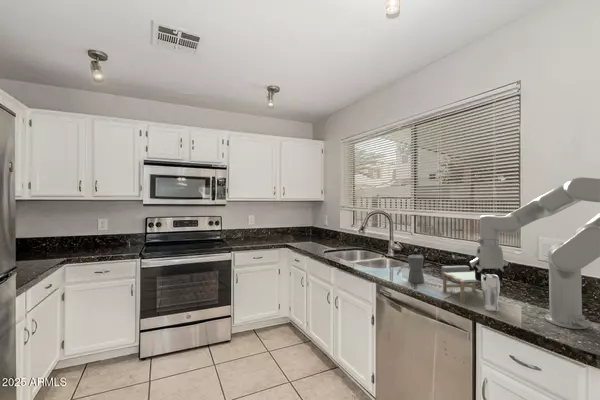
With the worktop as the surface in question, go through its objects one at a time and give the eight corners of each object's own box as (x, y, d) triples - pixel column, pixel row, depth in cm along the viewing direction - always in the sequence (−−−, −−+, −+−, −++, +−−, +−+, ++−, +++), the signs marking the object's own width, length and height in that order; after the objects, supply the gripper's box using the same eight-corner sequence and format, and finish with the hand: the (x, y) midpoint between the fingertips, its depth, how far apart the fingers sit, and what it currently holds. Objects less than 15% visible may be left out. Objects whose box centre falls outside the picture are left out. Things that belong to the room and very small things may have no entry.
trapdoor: (491, 285, 140) (491, 274, 140) (463, 286, 140) (463, 275, 140) (466, 274, 160) (466, 265, 160) (441, 275, 159) (441, 266, 159)
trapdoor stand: (497, 301, 139) (496, 279, 139) (461, 302, 138) (461, 281, 138) (474, 290, 156) (474, 270, 156) (443, 291, 155) (442, 272, 155)
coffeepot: (415, 285, 167) (415, 254, 167) (402, 281, 175) (401, 251, 175) (432, 280, 175) (431, 251, 175) (418, 277, 183) (418, 248, 183)
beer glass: (478, 307, 132) (477, 274, 132) (488, 305, 134) (488, 273, 134) (493, 313, 125) (492, 278, 125) (504, 310, 128) (503, 276, 128)
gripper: (475, 244, 126) (475, 283, 126) (514, 243, 126) (513, 282, 127) (465, 241, 133) (465, 277, 134) (501, 241, 134) (501, 277, 134)
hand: (488, 280), depth 130 cm, fingers open, 9 cm apart
